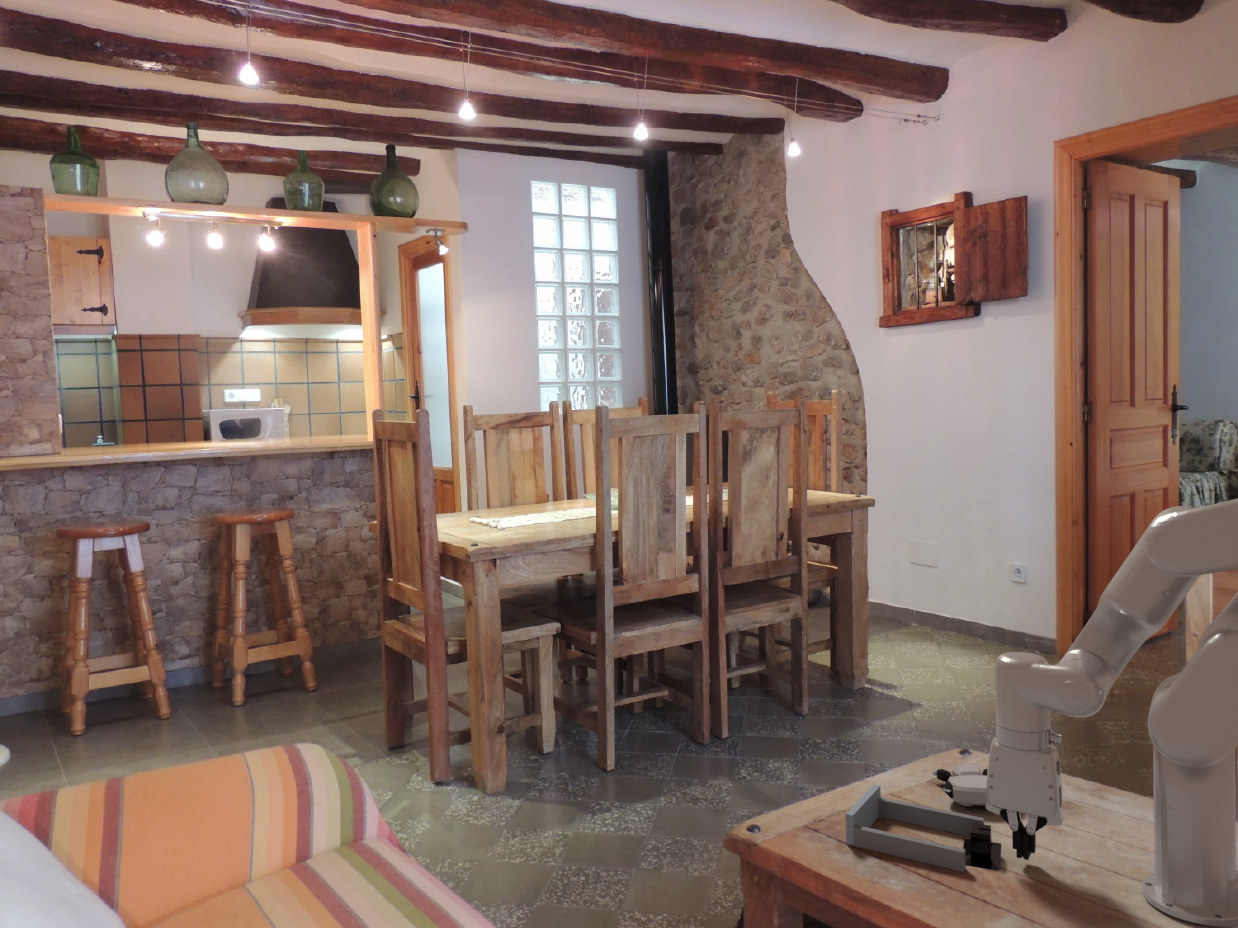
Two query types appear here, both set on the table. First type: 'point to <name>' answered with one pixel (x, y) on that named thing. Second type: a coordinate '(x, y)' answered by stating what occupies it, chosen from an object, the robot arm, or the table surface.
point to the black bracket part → (982, 848)
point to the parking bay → (906, 846)
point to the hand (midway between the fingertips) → (1024, 854)
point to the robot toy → (964, 784)
